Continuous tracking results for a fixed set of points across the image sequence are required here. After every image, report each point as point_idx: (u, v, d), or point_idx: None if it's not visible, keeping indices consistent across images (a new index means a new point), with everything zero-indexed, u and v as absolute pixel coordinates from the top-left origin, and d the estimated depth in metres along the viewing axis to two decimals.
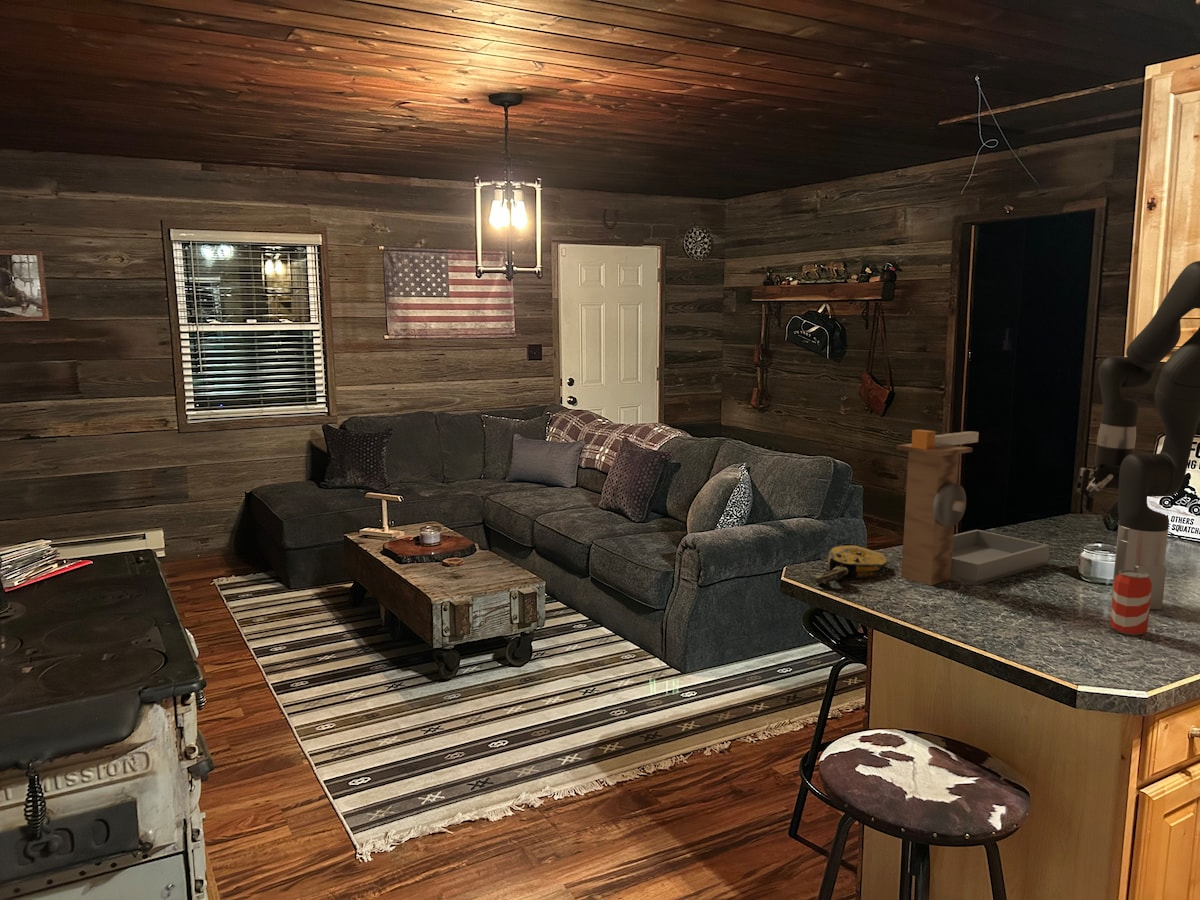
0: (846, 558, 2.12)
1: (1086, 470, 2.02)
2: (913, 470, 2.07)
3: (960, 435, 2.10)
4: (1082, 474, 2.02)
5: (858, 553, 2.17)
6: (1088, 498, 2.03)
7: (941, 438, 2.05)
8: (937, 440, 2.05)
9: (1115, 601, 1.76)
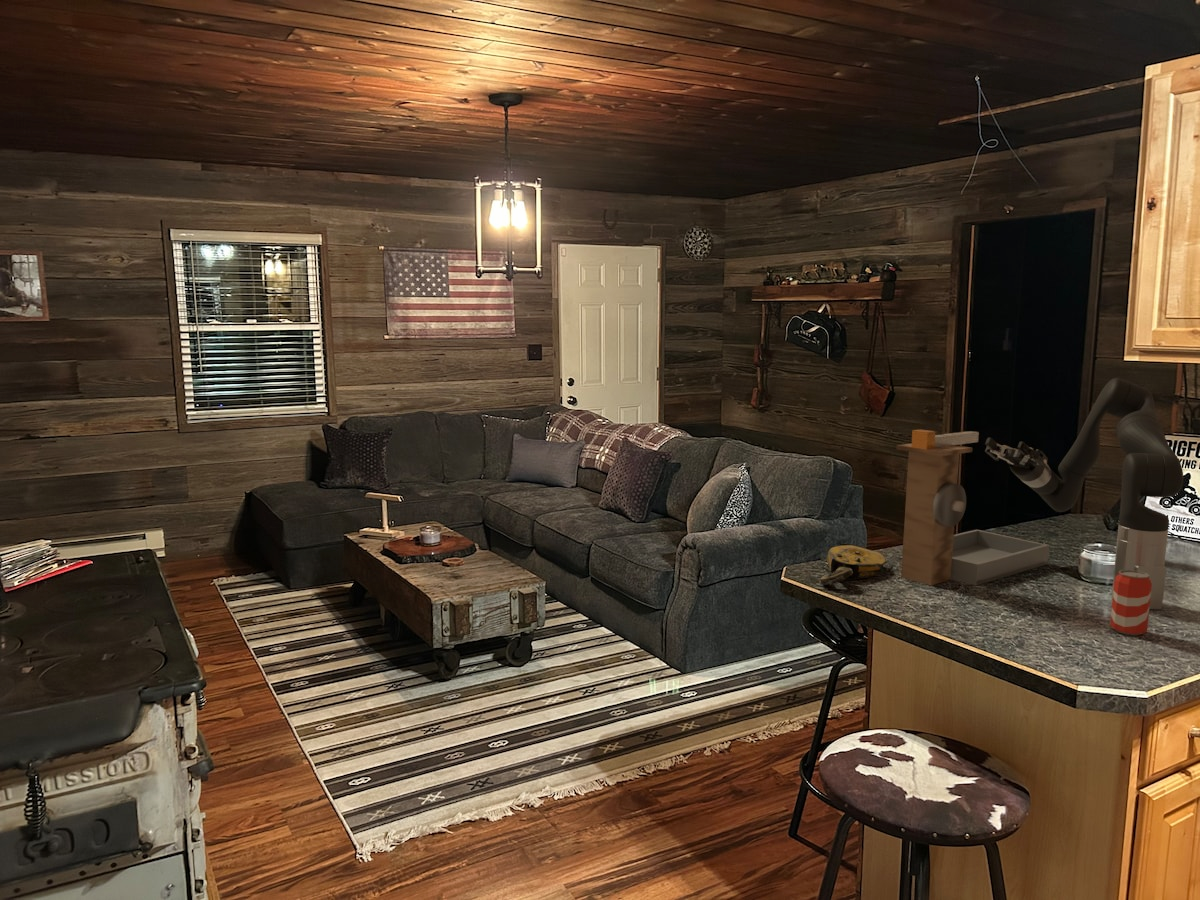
0: (847, 558, 2.12)
1: None
2: (913, 470, 2.07)
3: (960, 435, 2.10)
4: None
5: (857, 553, 2.17)
6: None
7: (941, 438, 2.05)
8: (937, 440, 2.05)
9: (1115, 601, 1.76)
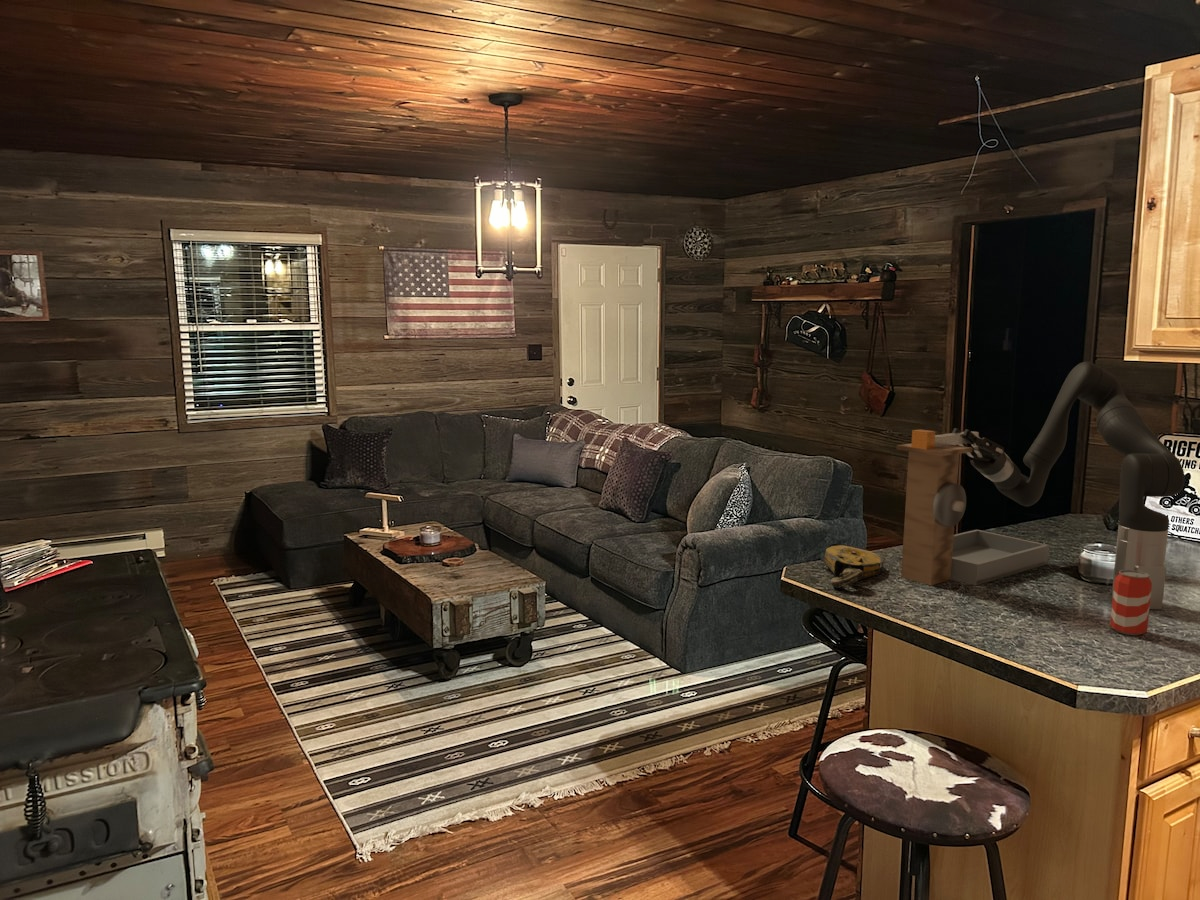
0: (850, 559, 2.11)
1: None
2: (913, 470, 2.07)
3: (960, 435, 2.10)
4: None
5: (854, 553, 2.17)
6: None
7: (941, 438, 2.06)
8: (937, 440, 2.05)
9: (1115, 601, 1.76)
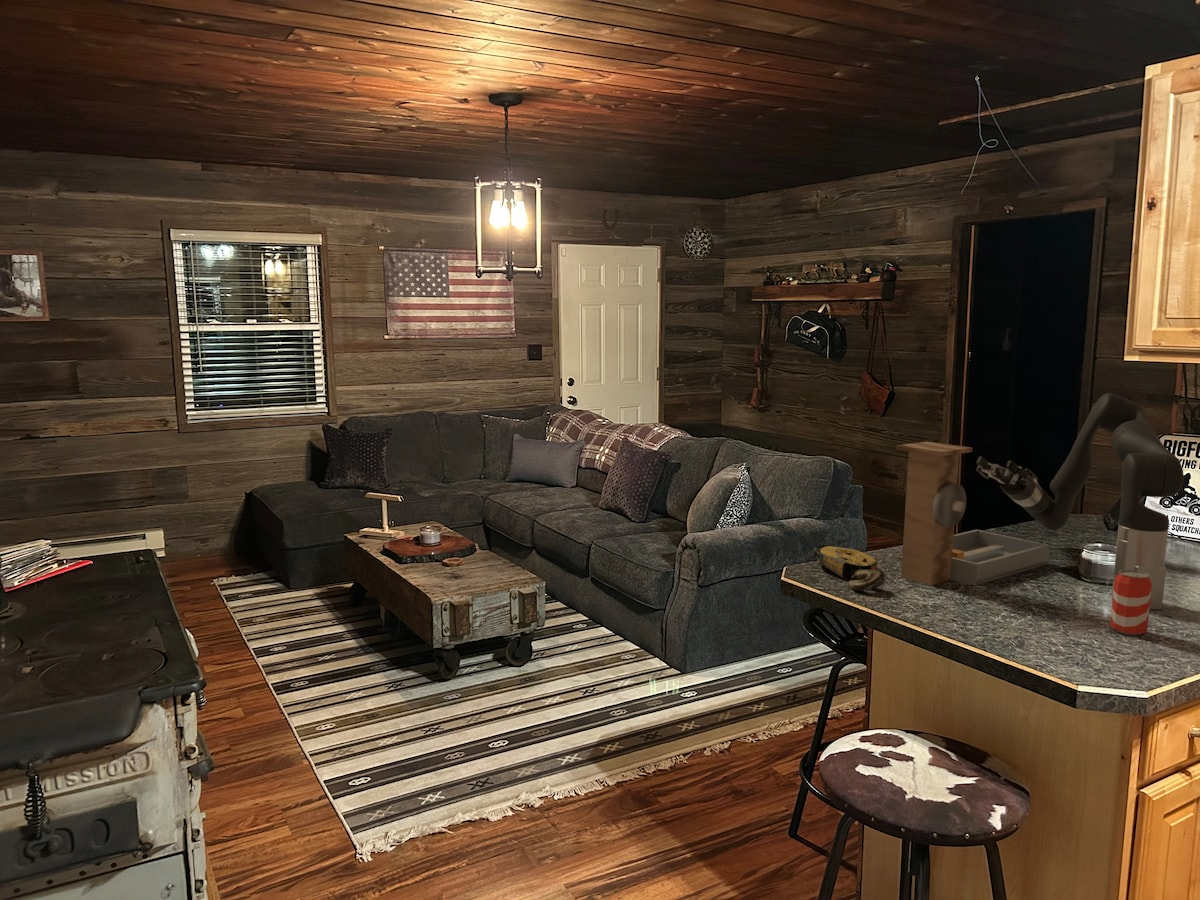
0: (854, 560, 2.10)
1: None
2: (913, 470, 2.07)
3: (987, 551, 2.24)
4: None
5: (849, 553, 2.17)
6: None
7: (969, 556, 2.20)
8: (966, 558, 2.19)
9: (1115, 601, 1.76)
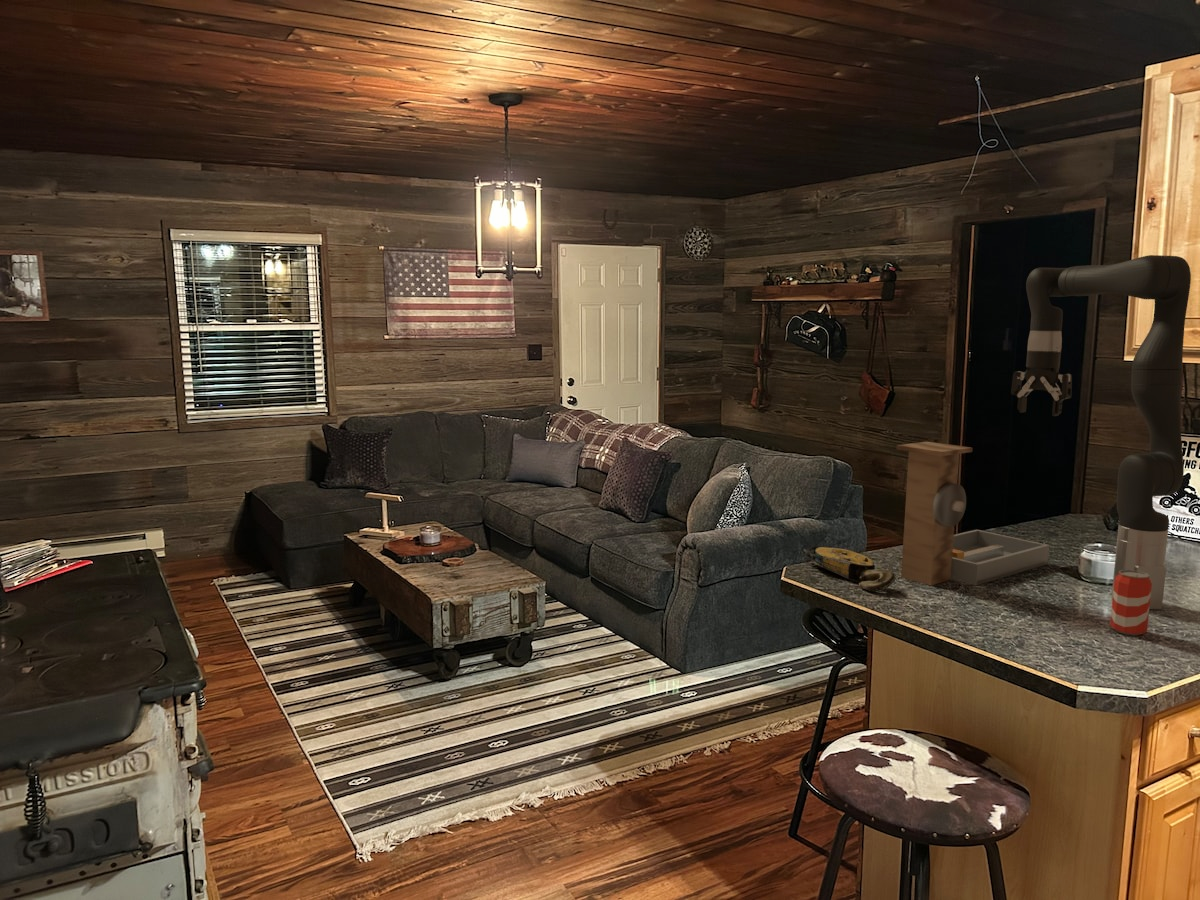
0: (857, 560, 2.10)
1: (1014, 372, 2.25)
2: (913, 470, 2.07)
3: (987, 551, 2.24)
4: None
5: (846, 553, 2.17)
6: (1019, 398, 2.25)
7: (969, 556, 2.20)
8: (966, 558, 2.19)
9: (1115, 601, 1.76)
